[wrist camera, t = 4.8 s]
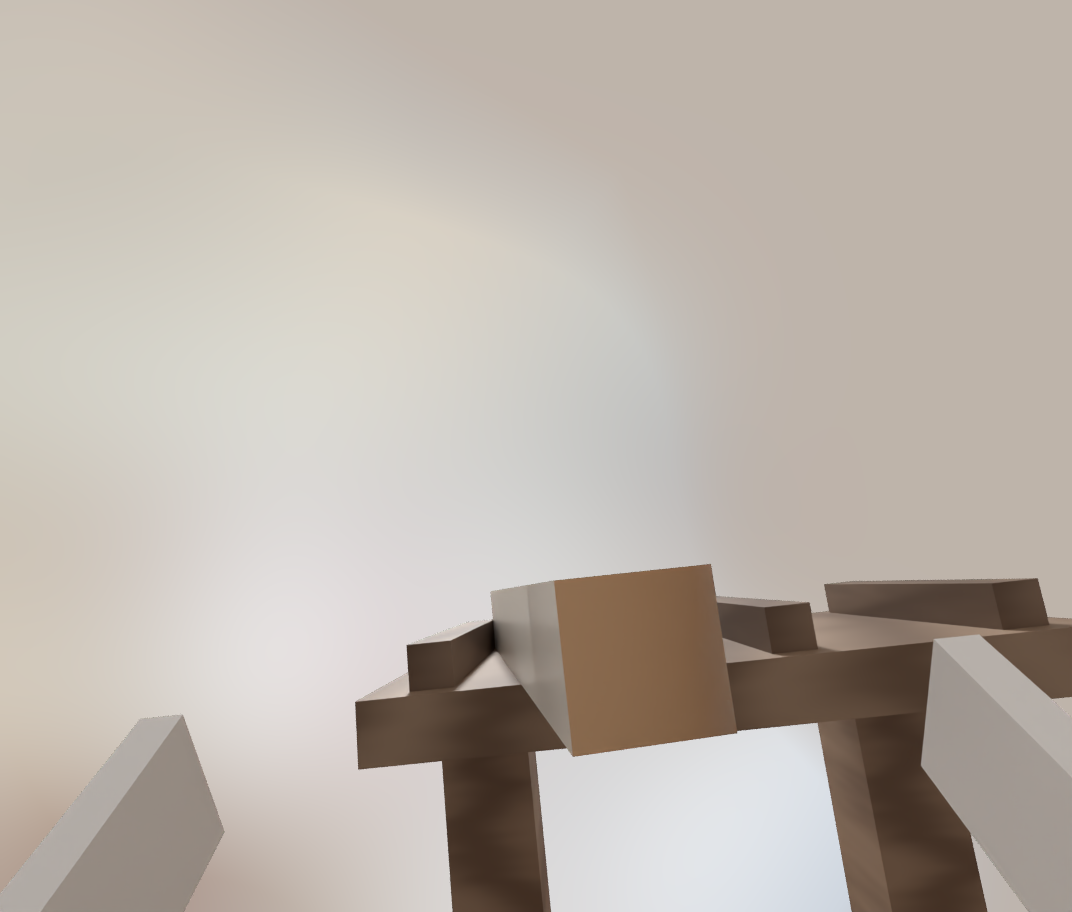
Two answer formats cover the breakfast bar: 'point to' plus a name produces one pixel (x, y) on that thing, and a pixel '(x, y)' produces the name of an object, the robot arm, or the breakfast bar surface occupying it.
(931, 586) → the stand
